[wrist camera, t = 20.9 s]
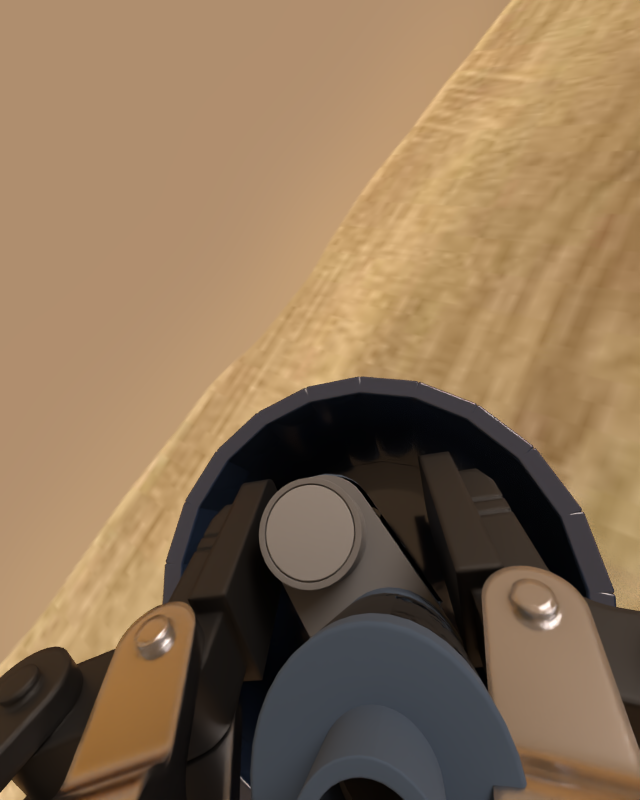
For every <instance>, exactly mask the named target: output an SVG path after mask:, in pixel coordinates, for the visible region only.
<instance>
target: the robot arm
mask: <svg viewBox="0 0 640 800" xmlns="http://www.w3.org/2000/svg"><path fill="white" fill-rule="evenodd" d="M418 461H419V468H420V474H421V480H422V487H423V493H424V499H425V505H426V511H427V516H428V520H429V525H430V529H431V533H432V537H433V540H434V544H435V547H436V551H437V554H438V558H439V562H440V565H441V569H442V572H443V576H444V579H445V583H446V587H447V590H448V594H449V597H450V601H451V604H452V608H453V612H454V615H455V619H456V622H457V626H458V630H459V633H460V637H461V639H462V641H463V645H464V650H465V652H466V654H467V655H468V656H467V657H469V658H468V660H469V659H470V661H471V662H472V664H473V666H474V668H478V667H483V668H484V671H485V674H486V677H487V683H488V693H489V694H490V696H491V698H492V700H493V701H494V703H495V705H496V707H497V709H498V710H499V712H500V714H501V716H502V717H503V719H504V721H505V723H506V725H507V727H508V730H509V732H510V734H511V737H512V739H513V741H514V744H515V746H516V749H517V751H518V753H519V756H520V760H521V763H522V767H523V771H524V774H525V778H526V781H527V785H526V787H524V788H518V787H510V786H497V785H493V793H494V800H640V611H635V610H630V609H624V608H618V607H613V606H609V605H605V604H602V603H599V602H596V601H593V600H590V599H588V598H586V597H583V596H582V595H581V594H580V593H579V592H578V590H577V589H576V588H575V587H573V586H572V585H571V584H570V583H569V582H567V581H566V580H564V579H563V578H561V577H560V576H558V575H556V574H554V573H552V572H550V571H549V569H548V568H547V566H546V565H545V563H544V562H543V560H542V558H541V557H540V555H539V553H538V552H537V550H536V549H535V547H534V545H533V544H532V542H531V540H530V539H529V537H528V536H527V534H526V532H525V531H524V529H523V528H522V526H521V524H520V523H519V521H518V519H517V518H516V516H515V515H514V513H513V512H511V508H510V506H509V505H508V503H507V502H506V500H505V498H503V496H502V494H501V492H500V490H499V489H498V487H497V485H496V484H495V482H494V481H493V479H491V478H490V477H488V476H487V475H485V474H484V473H482V472H481V471H479V470H478V469H476V468H474V469H467V470H460V471H458V470H457V468H456V465H455V463H454V461H453V459H452V457H451V455H450V453H449V452H448V451H447V452H440V453H434V454H428V455H421V456H418ZM276 492H277V489H276V486H275V484H274V482H273V481H272V480H271V479H267V480H261V481H254V482H248V483H244V484H242V486H241V487H240V490H239V492H238V494H237V496H236V498H235V500H234V502H233V504H229V505H226V506H225V507H224V508H223V509H222V510H221V511H220V512H219V513H218V514H217V515H216V516H215V517H214V518H213V519H212V520H211V522H210V524H209V526H208V528H207V529H206V531H205V533H204V538H202V539H201V541H200V543H199V545H198V546H197V552H194V554H193V556H192V558H191V560H190V562H189V563H188V565H187V567H186V569H185V571H184V573H183V575H182V577H181V579H180V581H179V582H178V584H177V586H176V588H175V590H174V592H173V594H172V596H171V598H170V599H169V601H168V603H165V604H162V605H159V606H157V607H155V608H153V609H151V610H150V611H148V612H147V613H145V614H144V615H143V616H141V617H140V618H139V619H138V620H137V621H135V622H134V623H133V624H132V625H131V626H130V628H129V629H128V630H127V631H126V632H125V634H124V635H123V636H122V638H121V640H120V641H119V643H118V645H117V647H116V649H114V650H111V651H109V652H106V653H104V654H101V655H99V656H96V657H94V658H91V659H89V660H86V661H84V662H81V663H79V664H76V663H75V662H74V660H73V659H72V657H71V656H70V655H69V653H68V652H67V650H65V649H64V648H61V647H50V648H46V649H43V650H40V651H38V652H36V653H34V654H32V655H30V656H28V657H27V658H25V659H24V660H22V661H20V662H19V663H18V664H16V665H15V666H14V667H12V668H11V669H10V670H9V671H7V672H6V673H5V674H4V675H3V676H2V677H1V678H0V792H1V791H2V790H3V789H4V788H5V787H6V785H7V784H8V783H9V782H10V781H11V780H12V781H13V782H14V783H15V784H16V785H17V786H18V787H19V788H20V789H21V790H22V791H23V792H24V793H25V794H26V795H27V796H26V798H25V799H24V800H240V778H241V751H242V725H243V716H242V709H241V706H240V704H239V702H238V700H239V696H240V692H241V688H242V684H243V681H257V680H262V679H263V675H264V670H265V665H266V661H267V656H268V651H269V646H270V642H271V637H272V632H273V627H274V623H275V618H276V613H277V608H278V604H279V599H280V594H281V590H282V585H283V584H282V582H281V581H280V580H279V579H278V578H277V577H276V576H275V575H274V574H273V573H272V572H271V571H270V569H269V568H268V566H267V564H266V563H265V561H264V558H263V556H262V553H261V549H260V544H259V527H260V522H261V518H262V515H263V512H264V510H265V507H266V506H267V504H268V503H269V501H270V499H271V498H272V497H273V496H274V495H275V493H276ZM470 661H469V662H470ZM471 662H470V663H471ZM470 663H469V664H470ZM471 668H472V667H471Z"/></svg>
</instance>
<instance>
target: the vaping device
mask: <svg viewBox="0 0 640 800" xmlns="http://www.w3.org/2000/svg"><path fill="white" fill-rule="evenodd" d="M372 507H373V508H375V509H377V510H378V508H377V507H376V506H375V504H374V503H373V501H372V500H371V499H370V497H369V496H368V494H367V493H366V492H365V491H364V490H363V489H362V488H361V487H360V486H359V485H358V484H357V483H356V482H355V481H354V480H352V479H349V478H347V477H345V476H343V475H335V474H322V475H317V476H313V477H309V478H303V479H298V480H296V481H293V482H290V483H289V484H287V485H285V486H284V487H282V488H281V489H280V490H279V491H278V492H276V493H275V495H274V496H273V497H272V498H271V499H270V501H269V503H268V504H267V506H266V507H265V510H264V512H263V515H262V518H261V522H260V527H259V544H260V549H261V553H262V556H263V558H264V561H265V563H266V564H267V566H268V568H269V569H270V571H271V572H272V573H273V574H274V575H275V576H276V577H277V578H278V579H279V580H280V581H281V582H282V584H283V586H284V587H285V589H286V591H287V593H288V595H289V597H290V599H291V601H292V603H293V605H294V607H295V609H296V611H297V613H298V615H299V617H300V619H301V621H302V623H303V625H304V627H305V629H306V631H307V632H308V634H309V636H310V639H309V640H308V641H306V642H305V643H304V644H303V645H302V646H301V647H300V648H299V649H297V650H296V651H295V652H294V653H293V654H292V655H291V657H290V658H289V659H288V660H287V662H286V663H285V664H284V665H283V667H282V668H281V669H280V671H279V672H278V674H277V676H276V677H275V679H274V681H273V683H272V685H271V687H270V688H269V690H268V692H267V694H266V697H265V700H264V703H263V705H262V708H261V711H260V714H259V716H258V721H257V725H256V730H255V734H254V739H253V744H252V756H251V768H250V783H251V800H494V793H493V785H497V786H510V787H518V788H524V787H526V785H527V781H526V778H525V774H524V771H523V767H522V763H521V760H520V756H519V753H518V751H517V749H516V746H515V744H514V741H513V739H512V737H511V734H510V732H509V730H508V727H507V725H506V723H505V721H504V719H503V717H502V716H501V714H500V712H499V710H498V709H497V707H496V705H495V703H494V701H493V700H492V698H491V696H490V694H489V693H488V691H487V689H486V687H485V686H484V684H483V682H482V681H481V678H480V677H479V675H478V673H477V672H476V670H475V668H474V666H473V664H472V662H471V661H470V659H469V660H468V658H469V657H467V656H468V655H467V654H466V652H465V650H464V645H463V641H462V639H461V637H460V636H459V634H458V632H457V631H456V629H455V628H454V626H453V625H452V623H451V622H450V620H449V619H448V618H447V616H446V615H445V613H444V611H443V609H442V608H441V606H440V604H442V603H443V601H442V600H441V599H440V597H439V596H438V594H437V593H436V591H435V590H434V589H433V587H432V586H431V584H430V583H429V581H428V580H427V578H426V577H425V576H424V574H423V573H422V571H421V570H420V568H419V567H418V566H417V564H416V563H415V561H414V560H413V558H412V557H411V556H410V554H409V553H408V551H407V550H406V548H405V547H404V545H403V544H402V543H401V541H400V540H399V538H398V537H397V535H396V534H395V533H394V531H393V530H392V528H391V527H390V525H389V524H388V523H387V521H386V520H385V518H384V517H383V515H382V514H381V516H380V517H379V516H378V515H377V513H376V512H375V511H374V510H373V509H372ZM378 511H379V510H378ZM379 512H380V511H379ZM469 661H470V662H471V663H470V662H469ZM469 663H470V664H469ZM471 667H472V668H471Z"/></svg>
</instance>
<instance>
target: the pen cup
mask: <svg viewBox="0 0 640 800" xmlns="http://www.w3.org/2000/svg"><path fill="white" fill-rule="evenodd" d="M447 451H448V452H449V453H450V455H451V457H452V459H453V461H454V463H455V465H456V468H457V470H458V471H460V470H467V469H474V468H476V469H478V470H479V471H481V472H482V473H484V474H485V475H487V476H488V477H490V478H491V479H493V481H494V482H495V484H496V485H497V487H498V489H499V490H500V492H501V494H502V496H503V498H505V500H506V502H507V503H508V505H509V506H510V508H511V512H513V513H514V515H515V516H516V518H517V519H518V521H519V523H520V524H521V526H522V528H523V529H524V531H525V532H526V534H527V536H528V537H529V539H530V540H531V542H532V544H533V545H534V547H535V549H536V550H537V552H538V553H539V555H540V557H541V558H542V560H543V562H544V563H545V565H546V566H547V568H548V569H549V571H550V572H552V573H554V574H556V575H558V576H560V577H561V578H563V579H564V580H566V581H567V582H569V583H570V584H571V585H572V586H573V587H575V588H576V589H577V590H578V592H579V593H580V594H581V595H582V596H583V597H586V598H588V599H590V600H593V601H596V602H599V603H602V604H605V605H609V606H613V607H616V597H615V595H614V594H613V593H614V589H613V586H612V584H611V581H610V578H609V576H608V573H607V571H606V568H605V566H604V563H603V560H602V558H601V555H600V553H599V550H598V547H597V545H596V542H595V540H594V537H593V534H592V532H591V529H590V527H589V524H588V521H587V519H586V516H585V514H584V512H582V509H581V507H580V506H579V504H578V503H577V502H576V501H575V499H574V498H573V497H572V495H571V494H570V493H569V491H568V490H567V489H566V487H565V486H564V485H563V483H562V482H561V481H560V480H559V478H558V477H557V476H556V474H555V473H554V472H553V470H552V469H551V468H550V466H549V465H548V464H547V462H546V461H545V460H544V459H543V457H542V456H541V455H540V453H539V452H538V451H537V449H535V448H533V445H531V444H530V443H529V442H527V441H526V440H525V439H523V438H522V437H521V436H519V435H518V434H517V433H515V432H514V431H513V430H511V429H510V428H509V427H507V426H506V425H505V424H503V423H502V422H501V421H499V420H498V419H497V418H495V417H494V416H493V415H491V414H490V413H489V412H487V411H486V410H485V409H483V408H482V407H481V406H479V405H478V406H477V404H476V403H473V402H470V401H468V400H465V399H463V398H460V397H457V396H455V395H452V394H450V393H447V392H444V391H442V390H439V389H437V388H434V387H431V386H429V385H426V384H424V383H421V382H419V383H418V382H417V381H408V380H397V379H385V378H373V377H361V378H360V377H354V378H349V379H344V380H339V381H334V382H329V383H324V384H319V385H314V386H309V387H307V388H304V389H302V390H300V391H298V392H296V393H294V394H292V395H290V396H288V397H286V398H285V399H283V400H281V401H279V402H277V403H275V404H273V405H271V406H269V407H267V408H265V409H263V410H261V411H259V412H258V413H257V414H255V415H254V416H253V417H252V418H251V419H250V420H249V421H248V422H247V423H246V424H245V425H243V426H242V427H241V428H240V429H239V430H238V431H237V432H236V433H235V434H234V435H233V436H232V437H231V438H230V439H228V440H227V441H226V442H225V443H224V444H223V445H222V446H221V447H220V448H219V449H218V450H217V452H215V454H214V455H213V457H212V458H211V460H210V462H209V463H208V465H207V466H206V468H205V470H204V471H203V473H202V474H201V476H200V478H199V479H198V481H197V482H196V484H195V486H194V487H193V489H192V490H191V492H190V494H189V495H188V497H187V498H186V502H185V503H184V505H183V509H182V512H181V515H180V518H179V521H178V524H177V528H176V531H175V534H174V537H173V540H172V543H171V547H170V550H169V553H168V556H167V559H166V563H167V564H165V574H164V591H163V604H165V603H168V601H169V599H170V598H171V596H172V594H173V592H174V590H175V588H176V586H177V584H178V582H179V581H180V579H181V577H182V575H183V573H184V571H185V569H186V567H187V565H188V563H189V562H190V560H191V558H192V556H193V554H194V552H197V546H198V545H199V543H200V541H201V539H202V538H204V533H205V531H206V529H207V528H208V526H209V524H210V522H211V520H212V519H213V518H214V517H215V516H216V515H217V514H218V513H219V512H220V511H221V510H222V509H223V508H224V507H225V506H226V505H229V504H233V502H234V500H235V498H236V496H237V494H238V492H239V490H240V487H241V486H242V484H244V483H248V482H254V481H261V480H267V479H271V480H272V481H273V482H274V484H275V486H276V489H277V492H278V491H279V490H280V489H281V488H282V487H284V486H285V485H287V484H289V483H290V482H293V481H296V480H298V479H303V478H309V477H313V476H317V475H322V474H335V475H343V476H345V477H347V478H349V479H352V480H354V481H355V482H356V483H357V484H358V485H359V486H360V487H361V488H362V489H363V490H364V491H365V492H366V493H367V494H368V496H369V497H370V499H371V500H372V501H373V503H374V504H375V506H376V507H377V508H378V510H379V511H380V512H379V511H378V510H377V509H375V508H373V507H372V509H373V510H374V511H375V512H376V513H377V515H378V516H379V517H380V516H381V514H382V515H383V517H384V518H385V520H386V521H387V523H388V524H389V525H390V527H391V528H392V530H393V531H394V533H395V534H396V535H397V537H398V538H399V540H400V541H401V543H402V544H403V545H404V547H405V548H406V550H407V551H408V553H409V554H410V556H411V557H412V558H413V560H414V561H415V563H416V564H417V566H418V567H419V568H420V570H421V571H422V573H423V574H424V576H425V577H426V578H427V580H428V581H429V583H430V584H431V586H432V587H433V589H434V590H435V591H436V593H437V594H438V596H439V597H440V599H441V600H442V601H443V603H442V604H440V606H441V608H442V609H443V611H444V613H445V615H446V616H447V618H448V619H449V620H450V622H451V623H452V625H453V626H454V628H455V629H456V631H457V632H458V634H459V636H460V633H459V630H458V626H457V622H456V619H455V615H454V612H453V608H452V604H451V601H450V597H449V594H448V590H447V587H446V583H445V579H444V576H443V572H442V569H441V565H440V562H439V558H438V554H437V551H436V547H435V544H434V540H433V537H432V533H431V529H430V525H429V520H428V516H427V511H426V505H425V499H424V493H423V487H422V480H421V474H420V468H419V461H418V456H421V455H428V454H434V453H440V452H447ZM309 639H310V636H309V634H308V632H307V631H306V629H305V627H304V625H303V623H302V621H301V619H300V617H299V615H298V613H297V611H296V609H295V607H294V605H293V603H292V601H291V599H290V597H289V595H288V593H287V591H286V589H285V587H284V586H283V585H282V590H281V594H280V599H279V604H278V608H277V613H276V618H275V623H274V627H273V632H272V637H271V642H270V646H269V651H268V656H267V661H266V665H265V670H264V675H263V679H262V680H257V681H243V684H242V688H241V692H240V696H239V700H238V702H239V704H240V706H241V709H242V716H243V725H242V751H241V778H240V800H251V783H250V768H251V756H252V744H253V739H254V734H255V730H256V725H257V721H258V716H259V714H260V711H261V708H262V705H263V703H264V700H265V697H266V694H267V692H268V690H269V688H270V687H271V685H272V683H273V681H274V679H275V677H276V676H277V674H278V672H279V671H280V669H281V668H282V667H283V665H284V664H285V663H286V662H287V660H288V659H289V658H290V657H291V655H292V654H293V653H294V652H295V651H296V650H297V649H299V648H300V647H301V646H302V645H303V644H304V643H305V642H306V641H308V640H309ZM475 670H476V672H477V673H478V675H479V677H480V678H481V681H482V682H483V684H484V686H485V687H486V689H487V691H488V683H487V677H486V674H485V671H484V668H483V667H478V668H475Z"/></svg>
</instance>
